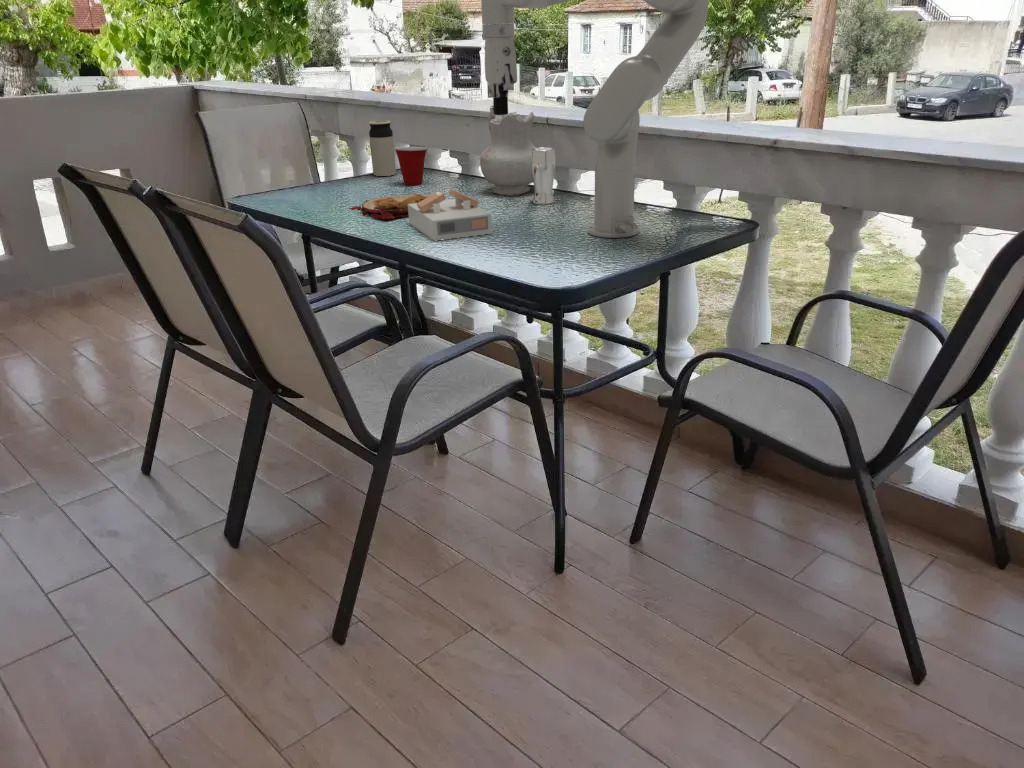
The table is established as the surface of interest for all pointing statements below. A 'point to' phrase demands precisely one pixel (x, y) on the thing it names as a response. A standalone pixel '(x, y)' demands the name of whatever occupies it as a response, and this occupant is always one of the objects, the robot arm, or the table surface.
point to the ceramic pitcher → (508, 153)
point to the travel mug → (382, 148)
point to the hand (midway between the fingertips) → (500, 114)
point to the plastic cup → (411, 164)
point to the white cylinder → (543, 174)
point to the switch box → (450, 220)
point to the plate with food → (390, 206)
